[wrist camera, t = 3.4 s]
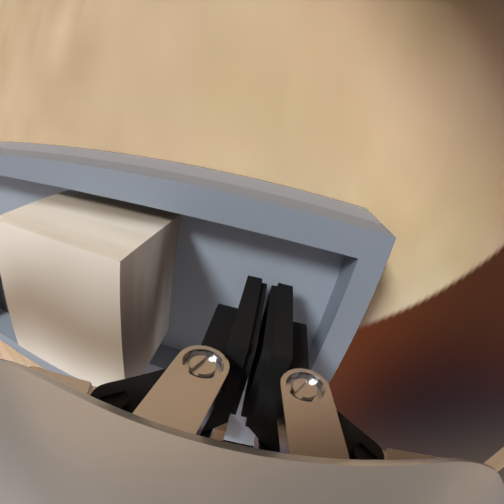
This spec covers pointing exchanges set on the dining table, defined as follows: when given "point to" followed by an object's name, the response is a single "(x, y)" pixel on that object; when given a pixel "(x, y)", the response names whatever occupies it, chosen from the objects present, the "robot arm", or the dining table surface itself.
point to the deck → (222, 245)
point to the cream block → (89, 282)
